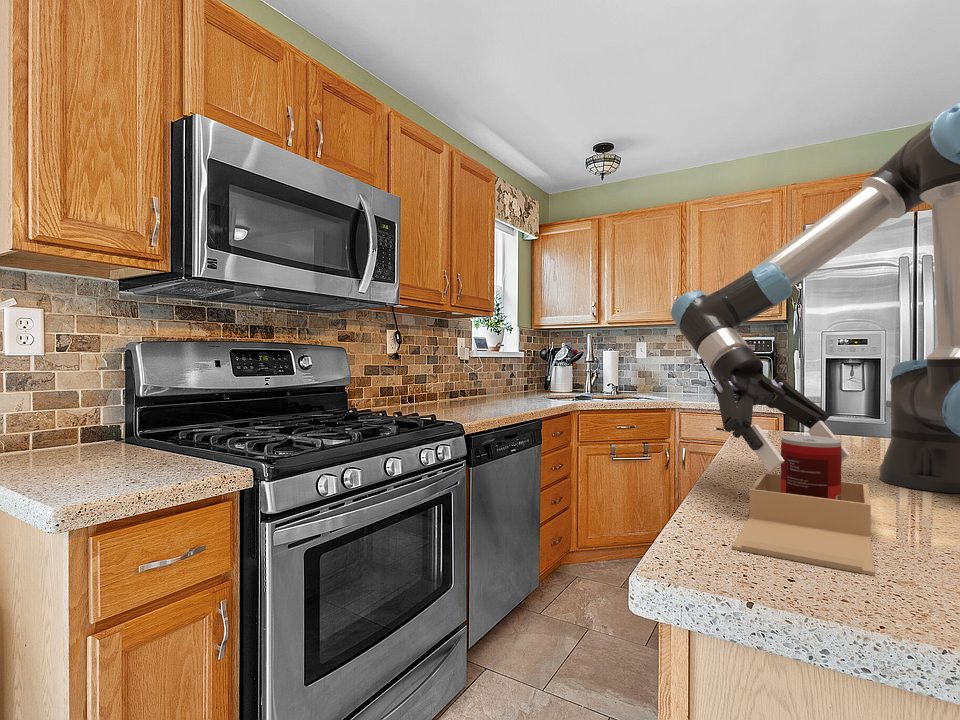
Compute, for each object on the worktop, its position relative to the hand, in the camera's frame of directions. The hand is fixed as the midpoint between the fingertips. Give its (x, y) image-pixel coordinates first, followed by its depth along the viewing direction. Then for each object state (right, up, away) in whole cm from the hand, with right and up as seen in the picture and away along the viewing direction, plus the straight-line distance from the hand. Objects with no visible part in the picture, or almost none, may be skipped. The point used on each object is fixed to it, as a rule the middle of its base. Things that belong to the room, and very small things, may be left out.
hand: (811, 463), depth 80 cm
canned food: (0, -8, +1) cm, 8 cm away
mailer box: (-4, -8, -5) cm, 10 cm away
